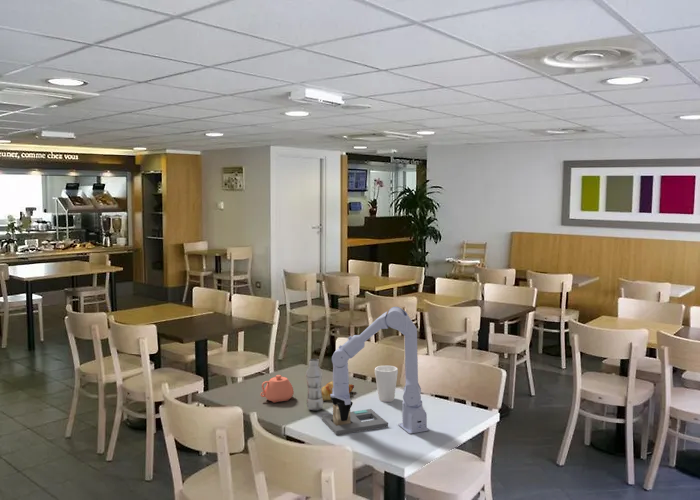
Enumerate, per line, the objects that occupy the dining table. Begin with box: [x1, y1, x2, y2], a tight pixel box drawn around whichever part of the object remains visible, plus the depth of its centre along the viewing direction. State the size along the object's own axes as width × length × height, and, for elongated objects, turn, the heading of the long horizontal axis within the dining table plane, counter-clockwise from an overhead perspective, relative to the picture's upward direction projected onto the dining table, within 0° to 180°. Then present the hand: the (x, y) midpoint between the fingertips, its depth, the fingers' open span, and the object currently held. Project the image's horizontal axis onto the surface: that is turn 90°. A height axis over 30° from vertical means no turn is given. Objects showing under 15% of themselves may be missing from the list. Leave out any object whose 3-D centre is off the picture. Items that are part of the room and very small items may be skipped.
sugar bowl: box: [260, 374, 295, 404], centre depth 253 cm, size 12×14×10 cm
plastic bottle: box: [305, 358, 324, 411], centre depth 240 cm, size 6×7×20 cm
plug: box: [332, 404, 351, 426], centre depth 223 cm, size 5×5×7 cm
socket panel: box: [321, 408, 389, 436], centre depth 225 cm, size 16×20×2 cm
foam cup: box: [374, 365, 399, 403], centre depth 251 cm, size 10×9×13 cm
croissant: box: [321, 380, 355, 402], centre depth 256 cm, size 21×10×8 cm, turn 128°
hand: (341, 417), depth 223 cm, fingers closed on plug, 5 cm apart
